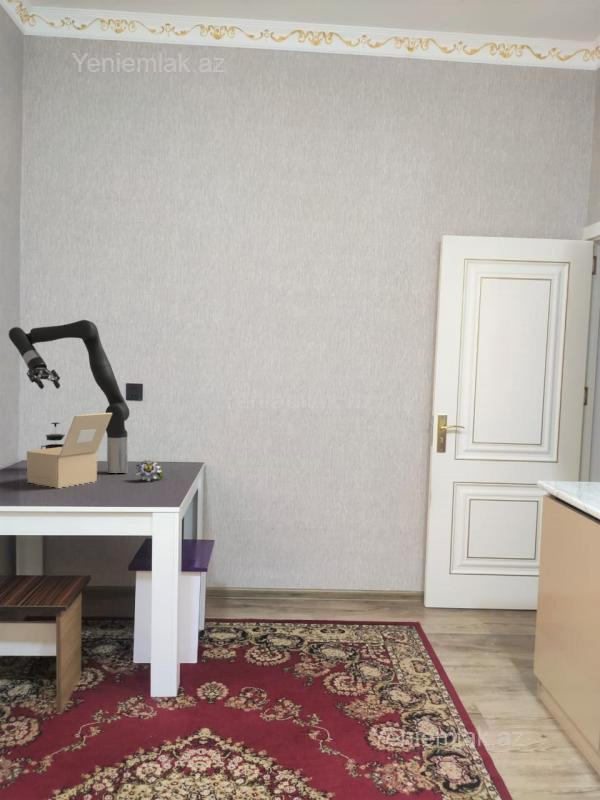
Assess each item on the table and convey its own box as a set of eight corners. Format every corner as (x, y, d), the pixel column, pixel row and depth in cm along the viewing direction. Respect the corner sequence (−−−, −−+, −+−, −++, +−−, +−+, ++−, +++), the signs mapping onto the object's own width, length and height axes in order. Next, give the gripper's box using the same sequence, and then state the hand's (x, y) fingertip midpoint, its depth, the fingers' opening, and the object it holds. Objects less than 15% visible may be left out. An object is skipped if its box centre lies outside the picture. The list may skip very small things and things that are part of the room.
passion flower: (148, 494, 288) (133, 473, 283) (142, 485, 297) (128, 465, 292) (169, 478, 291) (155, 458, 286) (163, 470, 300) (149, 451, 295)
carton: (25, 483, 278) (25, 451, 278) (66, 476, 297) (66, 446, 296) (57, 489, 268) (57, 455, 267) (97, 481, 286) (97, 450, 285)
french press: (67, 467, 322) (67, 421, 321) (66, 470, 313) (66, 423, 312) (42, 468, 319) (41, 421, 318) (40, 471, 310) (40, 423, 309)
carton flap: (74, 415, 262) (76, 416, 262) (111, 412, 278) (112, 413, 278) (59, 455, 268) (60, 456, 267) (96, 450, 284) (97, 451, 284)
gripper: (24, 356, 294) (41, 382, 288) (51, 356, 306) (67, 381, 300) (17, 367, 297) (33, 393, 291) (44, 367, 309) (60, 392, 303)
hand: (50, 387), depth 296 cm, fingers open, 8 cm apart
